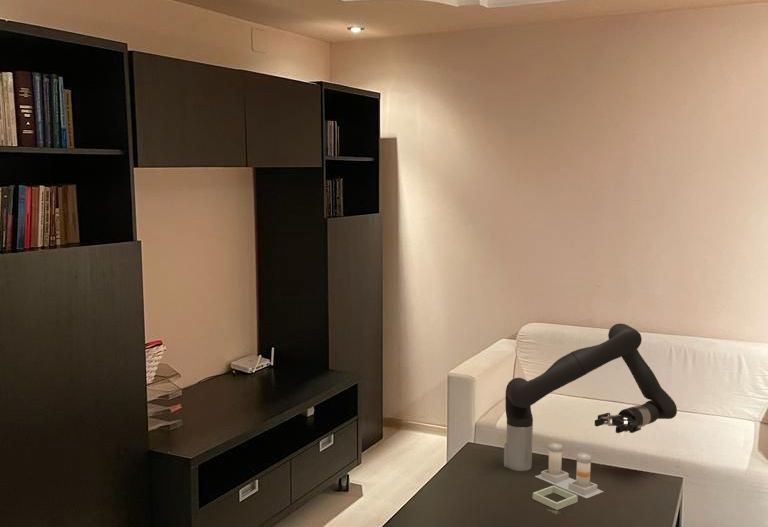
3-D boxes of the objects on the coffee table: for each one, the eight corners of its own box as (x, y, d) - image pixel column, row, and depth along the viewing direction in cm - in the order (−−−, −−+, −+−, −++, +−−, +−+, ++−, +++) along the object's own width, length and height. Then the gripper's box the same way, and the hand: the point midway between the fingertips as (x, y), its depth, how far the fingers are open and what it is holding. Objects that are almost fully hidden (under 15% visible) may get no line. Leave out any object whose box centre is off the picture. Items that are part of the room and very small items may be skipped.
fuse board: (534, 480, 253) (535, 470, 252) (551, 474, 258) (552, 465, 258) (586, 502, 235) (586, 492, 235) (603, 495, 240) (603, 485, 240)
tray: (532, 503, 235) (532, 492, 234) (553, 495, 240) (553, 485, 240) (556, 514, 227) (557, 503, 226) (577, 506, 232) (577, 495, 232)
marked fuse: (574, 490, 241) (575, 456, 239) (577, 485, 245) (578, 451, 243) (588, 493, 239) (589, 458, 237) (591, 488, 243) (592, 454, 241)
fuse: (546, 478, 250) (547, 445, 249) (549, 474, 254) (550, 441, 253) (559, 481, 248) (560, 447, 247) (562, 476, 252) (563, 443, 251)
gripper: (617, 402, 261) (589, 410, 251) (652, 412, 250) (624, 421, 240) (617, 422, 262) (588, 431, 252) (652, 433, 250) (623, 443, 241)
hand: (605, 426), depth 246 cm, fingers open, 8 cm apart
